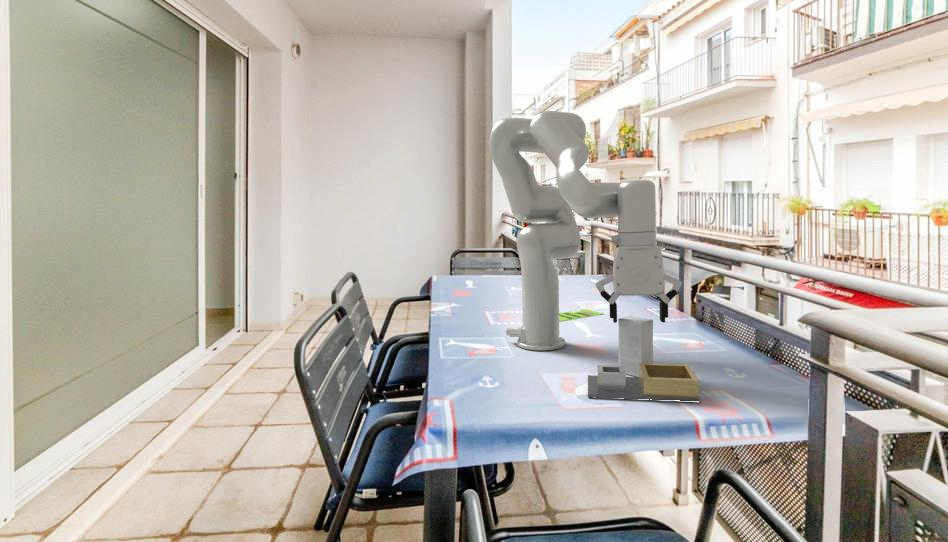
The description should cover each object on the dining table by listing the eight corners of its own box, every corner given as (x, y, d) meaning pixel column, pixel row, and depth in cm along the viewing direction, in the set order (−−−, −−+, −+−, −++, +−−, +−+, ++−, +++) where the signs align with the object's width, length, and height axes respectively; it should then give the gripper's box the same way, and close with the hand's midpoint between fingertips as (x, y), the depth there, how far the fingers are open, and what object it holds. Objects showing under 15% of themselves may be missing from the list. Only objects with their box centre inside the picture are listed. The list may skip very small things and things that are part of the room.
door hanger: (585, 310, 181) (525, 320, 169) (585, 308, 181) (525, 318, 169) (604, 315, 173) (543, 325, 161) (604, 313, 173) (543, 324, 161)
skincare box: (653, 374, 112) (654, 319, 111) (641, 378, 110) (642, 322, 108) (629, 368, 117) (629, 315, 116) (617, 372, 114) (617, 318, 113)
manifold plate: (587, 398, 100) (587, 377, 99) (587, 379, 111) (587, 360, 110) (700, 403, 96) (700, 382, 95) (688, 382, 106) (689, 363, 106)
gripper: (594, 243, 108) (596, 325, 110) (684, 239, 104) (685, 324, 106) (594, 241, 115) (596, 318, 117) (678, 238, 111) (678, 317, 113)
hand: (638, 321), depth 111 cm, fingers open, 9 cm apart
